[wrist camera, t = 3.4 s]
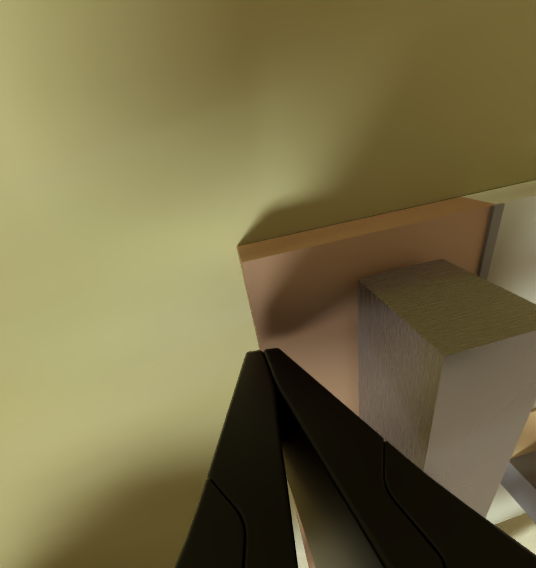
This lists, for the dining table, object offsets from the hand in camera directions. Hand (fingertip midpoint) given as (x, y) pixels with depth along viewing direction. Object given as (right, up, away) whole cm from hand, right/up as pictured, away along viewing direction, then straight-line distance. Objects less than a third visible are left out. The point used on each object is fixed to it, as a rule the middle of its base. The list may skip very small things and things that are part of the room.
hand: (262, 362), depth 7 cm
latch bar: (+5, -3, +3) cm, 6 cm away
